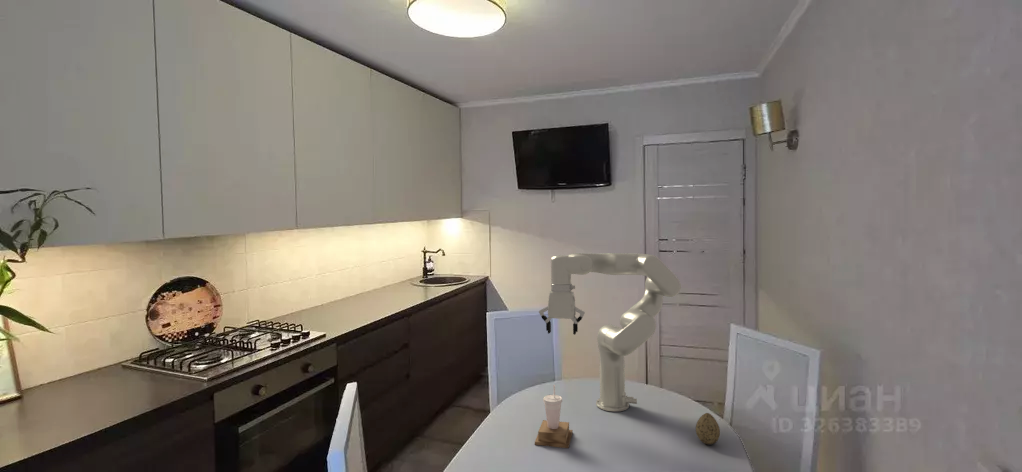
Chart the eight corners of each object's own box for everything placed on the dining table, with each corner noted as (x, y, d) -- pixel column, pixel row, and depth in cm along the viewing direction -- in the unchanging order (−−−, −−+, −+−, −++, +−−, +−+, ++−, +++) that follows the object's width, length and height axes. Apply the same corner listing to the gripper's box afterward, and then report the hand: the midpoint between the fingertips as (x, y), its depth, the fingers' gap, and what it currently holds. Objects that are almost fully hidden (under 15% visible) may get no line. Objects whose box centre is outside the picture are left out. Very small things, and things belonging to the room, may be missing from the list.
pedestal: (572, 432, 159) (572, 421, 158) (568, 448, 148) (568, 436, 148) (541, 429, 161) (540, 418, 161) (534, 444, 151) (534, 432, 150)
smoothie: (561, 431, 151) (561, 389, 151) (542, 430, 152) (541, 388, 152) (563, 423, 157) (563, 382, 157) (544, 421, 158) (544, 381, 158)
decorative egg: (716, 439, 152) (716, 409, 152) (722, 449, 145) (722, 418, 145) (693, 437, 153) (693, 408, 153) (698, 448, 146) (698, 417, 146)
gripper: (585, 287, 176) (585, 331, 176) (540, 286, 180) (541, 330, 181) (583, 290, 169) (584, 336, 169) (536, 289, 173) (537, 334, 173)
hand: (561, 333), depth 175 cm, fingers open, 9 cm apart
